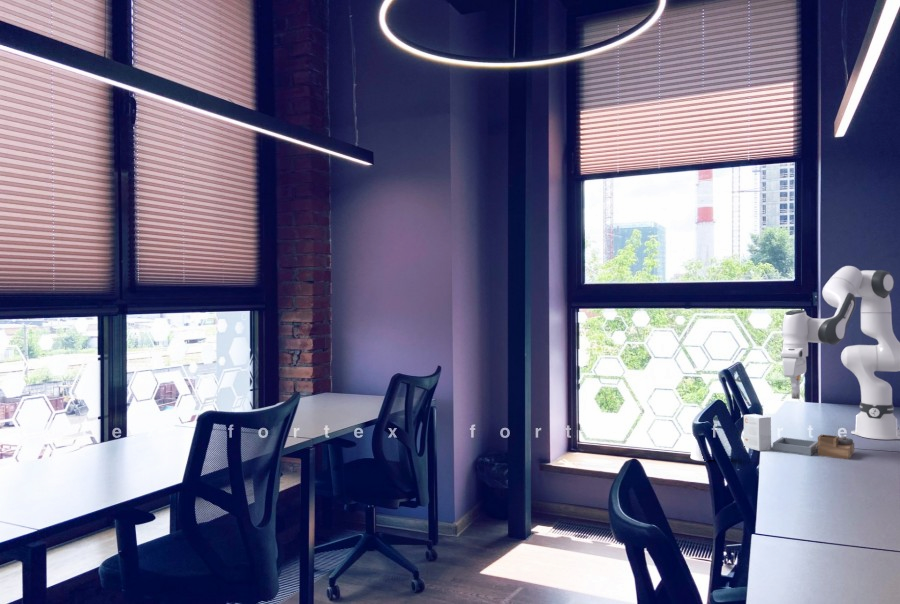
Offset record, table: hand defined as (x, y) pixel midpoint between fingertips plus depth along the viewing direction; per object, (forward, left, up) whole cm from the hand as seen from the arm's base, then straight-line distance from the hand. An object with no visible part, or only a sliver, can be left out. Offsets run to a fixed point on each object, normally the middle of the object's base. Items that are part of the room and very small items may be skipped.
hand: (795, 386), depth 255 cm
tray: (0, 0, -25) cm, 25 cm away
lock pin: (0, 0, -5) cm, 5 cm away
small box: (+6, -13, -25) cm, 29 cm away
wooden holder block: (-2, +13, -25) cm, 28 cm away
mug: (+37, -24, -25) cm, 51 cm away
